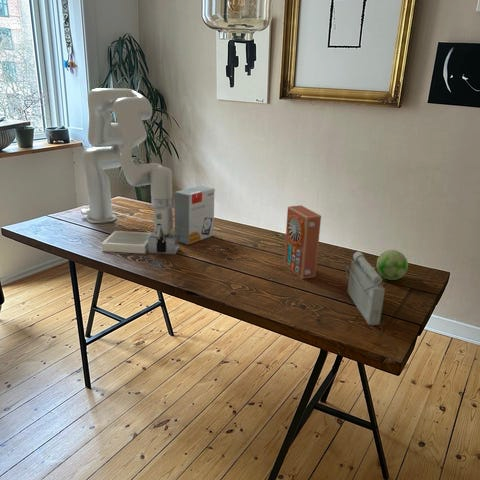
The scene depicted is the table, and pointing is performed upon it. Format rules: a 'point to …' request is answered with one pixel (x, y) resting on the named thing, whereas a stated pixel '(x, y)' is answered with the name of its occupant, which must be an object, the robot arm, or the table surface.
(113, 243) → the white shallow square tray
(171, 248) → the block
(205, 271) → the table surface
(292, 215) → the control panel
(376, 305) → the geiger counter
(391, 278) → the decorative ball
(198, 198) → the hard drive box
